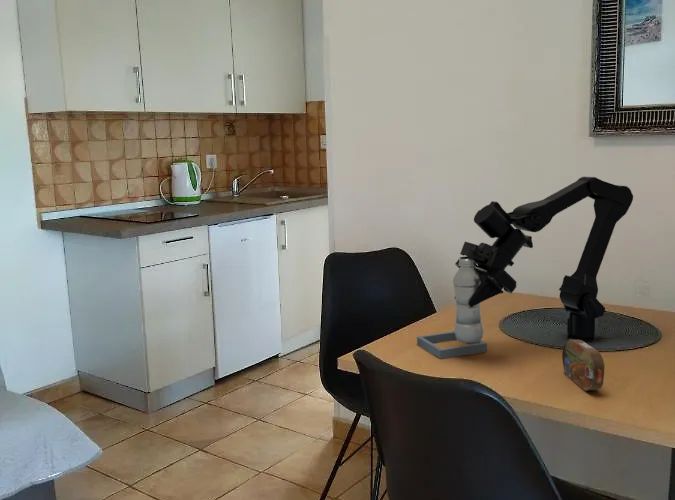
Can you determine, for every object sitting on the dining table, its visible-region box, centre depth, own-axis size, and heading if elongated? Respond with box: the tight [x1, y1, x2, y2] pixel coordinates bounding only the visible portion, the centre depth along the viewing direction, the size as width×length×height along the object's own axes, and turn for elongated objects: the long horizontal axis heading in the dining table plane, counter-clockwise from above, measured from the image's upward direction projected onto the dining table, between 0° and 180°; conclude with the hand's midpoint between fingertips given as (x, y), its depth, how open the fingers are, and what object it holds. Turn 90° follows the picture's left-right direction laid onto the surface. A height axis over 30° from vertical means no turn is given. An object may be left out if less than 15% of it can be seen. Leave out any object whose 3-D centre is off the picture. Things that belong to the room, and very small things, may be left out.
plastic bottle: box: [452, 256, 484, 344], centre depth 156 cm, size 6×7×20 cm
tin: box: [561, 338, 605, 392], centre depth 138 cm, size 15×3×8 cm, turn 4°
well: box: [416, 331, 488, 360], centre depth 165 cm, size 12×12×2 cm
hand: (462, 302), depth 155 cm, fingers closed on plastic bottle, 6 cm apart
